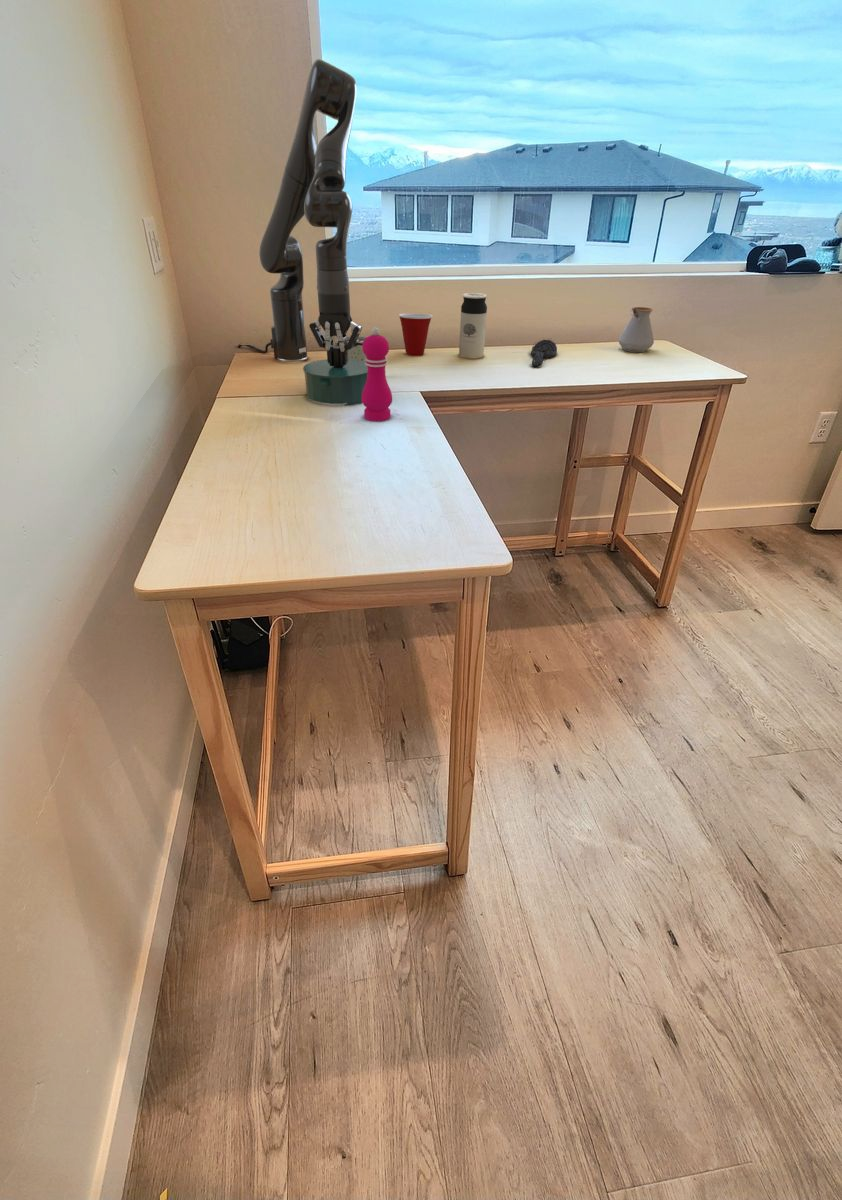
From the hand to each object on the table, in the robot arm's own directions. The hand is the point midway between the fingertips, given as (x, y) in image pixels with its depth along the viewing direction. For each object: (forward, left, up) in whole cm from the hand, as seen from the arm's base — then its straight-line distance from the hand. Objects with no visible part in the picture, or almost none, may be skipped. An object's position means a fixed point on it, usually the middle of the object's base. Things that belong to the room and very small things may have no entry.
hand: (337, 365), depth 157 cm
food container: (-2, +21, -8) cm, 22 cm away
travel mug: (+24, +54, -8) cm, 59 cm away
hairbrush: (+46, +59, -8) cm, 75 cm away
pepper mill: (+15, -13, -8) cm, 21 cm away
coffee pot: (+74, +77, -8) cm, 107 cm away
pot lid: (0, 0, -1) cm, 1 cm away
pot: (0, 0, -8) cm, 8 cm away
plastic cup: (+6, +51, -8) cm, 52 cm away
